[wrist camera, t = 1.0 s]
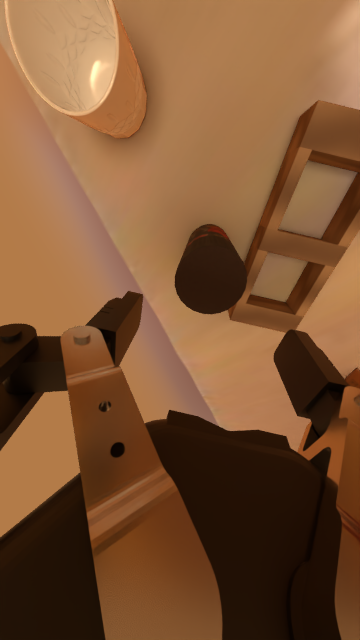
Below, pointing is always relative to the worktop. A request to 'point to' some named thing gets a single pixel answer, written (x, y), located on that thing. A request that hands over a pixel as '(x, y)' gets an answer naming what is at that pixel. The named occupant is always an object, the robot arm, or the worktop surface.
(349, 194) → the wooden divided tray
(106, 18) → the white cup
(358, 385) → the pancake mix bag
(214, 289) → the deodorant
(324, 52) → the worktop surface
